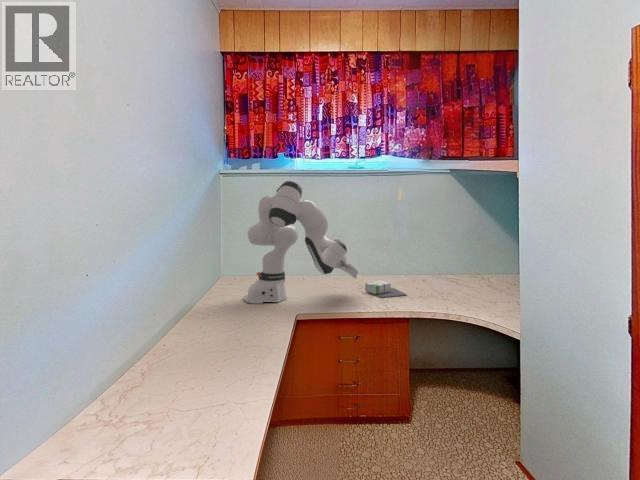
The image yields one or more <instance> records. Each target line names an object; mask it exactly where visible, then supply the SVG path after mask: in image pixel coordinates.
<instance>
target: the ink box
mask: <svg viewBox="0 0 640 480" xmlns="http://www.w3.org/2000/svg"><path fill="white" fill-rule="evenodd" d="M391 288H392V287H391V282H388V281H386V280H385V281H384V280H381V279H380V280H376V281H369V282H365V284H364V291H365V292H366V293H370V294H372V295H374V294H380V293H384V292H389V291H390V290H391Z"/></svg>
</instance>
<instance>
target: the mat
mask: <svg viewBox="0 0 640 480" xmlns="http://www.w3.org/2000/svg"><path fill="white" fill-rule="evenodd" d="M373 295H374V296H376V297H378V298H379V299H383V298H395V297H406V296H408V294H407V293H405V292H403V291H400V289H399V290H398V289H397V288H395V287H391V290H390V291H389V292H384V293H380V294H373Z"/></svg>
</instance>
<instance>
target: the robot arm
mask: <svg viewBox="0 0 640 480" xmlns="http://www.w3.org/2000/svg"><path fill="white" fill-rule="evenodd" d="M275 190H276V194H275V195H265V196H263V197H261V199H260V200H259V202H258V210H257V211H258V218H259V219H258V220H259V221H257V223H255V224H253V225H251V226H250V227H249V229H248V230H247V238H248V239H247V240H248V241H249V243H250V244H252V245H255V246H260V247H261V246H265V247H266V246H273V247H274V249H272V250H271V251H268V252H266V253H265V254H264V255H263V257H262V271H261V272H260V271H257V272H256V275H257V277H258V279H257V280H256V281H254V283H253V284H251V285H250V286H249V287H248V291H247V294H245V295H244V296H243V300H245V301H246V302H245V301H244V302H245V303H247V302H249V303H248V304H264V303H263V302H278V303H281V302H282V301H285V300H287V299H288V296H287V292H286V286H285V280H286V272H285V258H286V254H287V252H288V251H289V249H290V248H291V247H292V246H293V245H294V244H296V242H297V241H298V238H299V231H298V230H297V228H296V226H294V225H295V223H296V222H297V221H298V222H299V223H300V224H301V226H302V227H303V229H304V234H305V237H304V242H305V245H306V247H307V249H308V250H307V251H309V253H310V256H311V258H312V261H313V262H314V266H315V268H316V270H317V272H319V273H321V274H323V275H328V274H331V273H333V270H334V269H338V270H340V271H342V272H344V273H346V274H347V275H349V276H351V277H352V278H354V279H356V278H357V277H358V275H359V271H358V269H356V268H355V267H354V266H353V265H352V264H351V263H350V262H348V260H347V259H348V256H347V251H348V249H347V246H346V244H344V242H342V241H341V240H340V239H330V238H329V237H327V236H326V233H327V231H328V227H329V223H328V219H327V217H326V215H325V214H324V213H323V211H322V210H321V209H320V208H319V207H318V205H316V203H314V202H313V201H311V200H310V199H309V200H308V199H305V200H302V201H300V200H301V198H302V195H303V189H302V186H301V185H299V184H298V183H297V182H295V181H293V180H287V181H284V182H283V183H282V184H281V185H280V186H279V187H278V188H277V189H275Z"/></svg>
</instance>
